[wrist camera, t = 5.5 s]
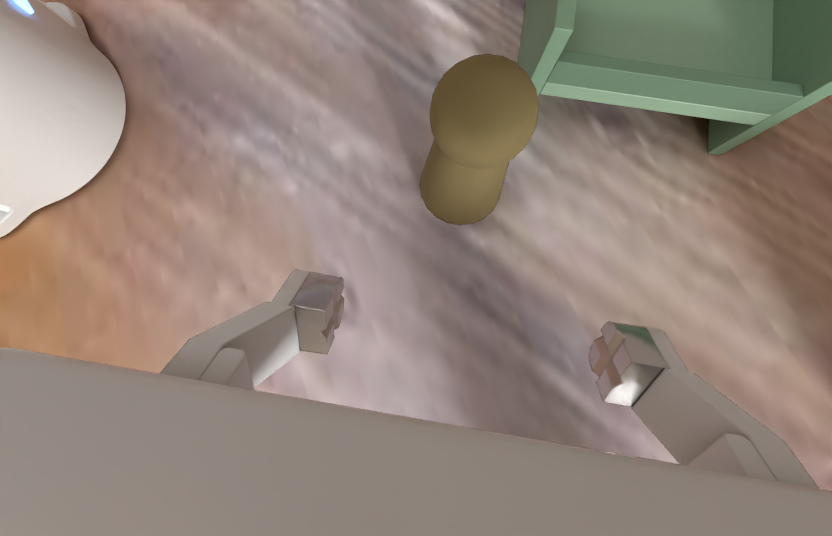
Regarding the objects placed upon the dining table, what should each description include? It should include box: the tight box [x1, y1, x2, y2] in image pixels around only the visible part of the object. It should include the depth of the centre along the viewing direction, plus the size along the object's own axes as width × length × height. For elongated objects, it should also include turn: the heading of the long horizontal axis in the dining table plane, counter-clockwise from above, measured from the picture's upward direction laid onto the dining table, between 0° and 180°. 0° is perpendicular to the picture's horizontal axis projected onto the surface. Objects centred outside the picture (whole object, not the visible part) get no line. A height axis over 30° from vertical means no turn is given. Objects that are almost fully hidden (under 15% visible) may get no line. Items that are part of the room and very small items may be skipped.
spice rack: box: [518, 0, 832, 155], centre depth 23 cm, size 16×11×9 cm
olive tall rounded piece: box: [420, 54, 539, 225], centre depth 21 cm, size 6×6×11 cm
